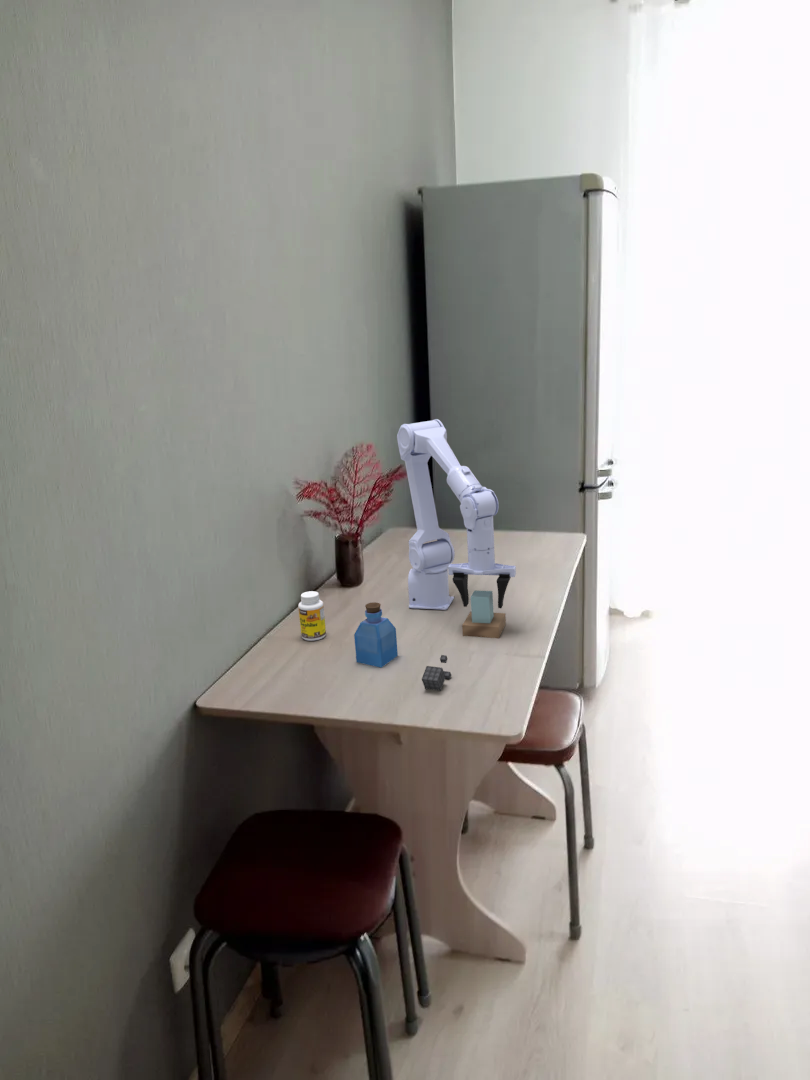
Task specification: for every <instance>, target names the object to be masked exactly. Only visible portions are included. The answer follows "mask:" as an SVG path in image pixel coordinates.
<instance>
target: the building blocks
mask: <svg viewBox="0 0 810 1080" xmlns="http://www.w3.org/2000/svg"><path fill="white" fill-rule="evenodd" d="M439 661H440V663H441V664H443V663H444V664H446V663H447V662H448V656H447V655H445V654H441V655H440V657H439ZM451 678H452V673H451V671H447V670H446V671H445V670H443V667H438V666H430V665H426V666H425V669H424V671H423V675H422V677H421V682H422V685H423V686H424V689H425V690H431V691H438V692H441V691H442V689H443V686H444V684H445V681H446V679H447V680H451Z"/></svg>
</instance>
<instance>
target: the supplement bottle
mask: <svg viewBox="0 0 810 1080" xmlns="http://www.w3.org/2000/svg"><path fill="white" fill-rule="evenodd" d="M300 600H301V601H300V602H299V603H298V605H297V606H298V617H299V625H300V634H301V635H300V636H301V638H302V639H303V640H305V641H309V642H313V641H319V640H321V639H323V638H325V637H326V635H327V629H326V628H327V627H326V617H325V607H324V601H322V600H321V599H320V594H319V592H318V591H313V590H311V591H310V590H309V591H305V592H302V593H301V595H300Z"/></svg>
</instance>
